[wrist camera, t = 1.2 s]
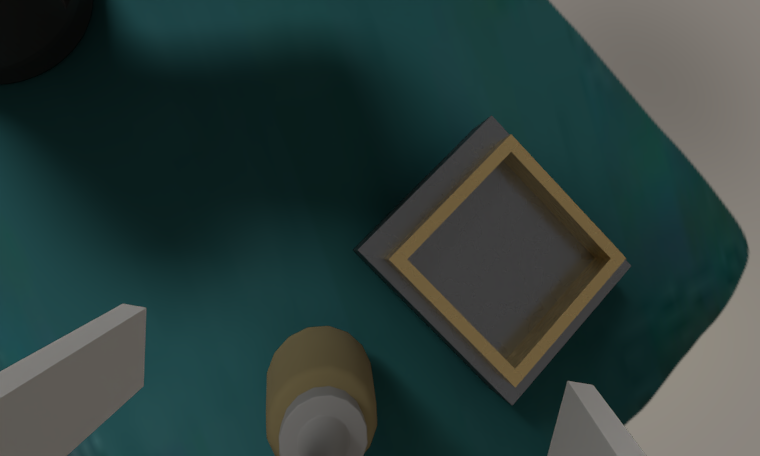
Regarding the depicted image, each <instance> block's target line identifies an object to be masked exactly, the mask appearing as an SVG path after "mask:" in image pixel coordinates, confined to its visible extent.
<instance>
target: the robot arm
mask: <svg viewBox="0 0 760 456" xmlns="http://www.w3.org/2000/svg"><path fill="white" fill-rule="evenodd" d="M92 5H93V0H0V84H7V83H13V82H18V81H22V80H26V79H29V78H32V77H34V76H37V75H39V74H41V73H43V72H45V71H47V70H49V69H50V68H52V67H54V66H55V65H57V64H58V63H59V62H61V61H62V60H63V59H64V58H65V57H66V56H67V55H68V54H69V53H70V52H71V51H72V50H73V49H74V48H75V47H76V45H77V44H78V42H79V41H80V39H81V38H82V36H83V34H84V32H85V30H86V28H87V26H88V23H89V20H90V16H91V12H92ZM145 331H146V308H145V307H139V306H133V305H128V304H121V305H120V306H118V307H116V308H114V309H112V310H110V311H109V312H107V313H105V314H103V315H101V316H100V317H98V318H96V319H94V320H92V321H91V322H89V323H87V324H85V325H83V326H82V327H80V328H78V329H76V330H74V331H73V332H71V333H69V334H67V335H65V336H64V337H62V338H60V339H58V340H56V341H55V342H53V343H51V344H49V345H47V346H46V347H44V348H42V349H40V350H38V351H37V352H35V353H33V354H31V355H29V356H28V357H26V358H24V359H22V360H20V361H18V362H17V363H15V364H13V365H11V366H9V367H8V368H6V369H4V370H2V371H0V456H67V455H68V454H69V453H70V452H71V451H72V450H74V449H75V448H76V447H77V446H78V445H79V444H80V443H81V442H82V441H83V440H85V439H86V438H87V437H88V436H89V435H90V434H91V433H92V432H93V431H95V430H96V429H97V428H98V427H99V426H100V425H101V424H102V423H103V422H104V421H106V420H107V419H108V418H109V417H110V416H111V415H112V414H113V413H114V412H115V411H117V410H118V409H119V408H120V407H121V406H122V405H123V404H124V403H125V402H127V401H128V400H129V399H130V398H131V397H132V396H133V395H134V394H135V393H136V392H138V391H139V390H140V389H141V388H142V387H143V386H144V360H145ZM547 456H646V455H645V453H644V452H643V450H642V449H641V448H640V447H639V445H638V444H637V442H636V441H635V440H634V439H633V437H632V436H631V434H630V433H629V432H628V431H627V429H626V428H625V427H624V425H623V424H622V423H621V421H620V420H619V419H618V417H617V416H616V415H615V413H614V412H613V411H612V409H611V408H610V407H609V405H608V404H607V403H606V401H605V400H604V399H603V397H602V396H601V395H600V393H599V392H598V391H597V389H596V388H595V387H594V385H590V384H584V383H578V382H573V381H567V384H566V388H565V392H564V396H563V399H562V403H561V407H560V410H559V414H558V418H557V422H556V425H555V429H554V433H553V437H552V440H551V444H550V448H549V452H548V455H547Z"/></svg>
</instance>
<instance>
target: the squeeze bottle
mask: <svg viewBox="0 0 760 456" xmlns="http://www.w3.org/2000/svg"><path fill="white" fill-rule="evenodd" d="M376 427H377V409H376V398H375V391H374V384H373V376H372V369H371V363H370V361H369V359H368V357H367V354H366V352H365V350H364V348H363V346H362V345H361V344H360V343H359V342H358V341H357V340H356V339H354V338H353V337H352V336H351V335H350V334H349V333H348V332H345V331H342V330H339V329H336V328H333V327H330V326H321V327H308V328H306V329H304V330H302V331H300V332H298V333H296V334H294V335H292V336H290V337H288V338H287V340H286V341H285V342H284V343H283V344H282V345H281V346H280V347H279V348H278V350H277V351H276V352H275V353H274V356H273V358H272V361H271V364H270V366H269V369H268V372H267V395H266V430H267V439H268V442H269V444H270V446H271V448H272V450H273V452H274V454H275V456H364V453H365V452H366V451H367V449H368V448H369V447H370V445H371V442H372V439H373V436H374V433H375V430H376Z"/></svg>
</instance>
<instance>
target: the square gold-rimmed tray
mask: <svg viewBox="0 0 760 456" xmlns="http://www.w3.org/2000/svg"><path fill="white" fill-rule="evenodd" d="M353 251H354V252H355V253H356V254H357V255H358V256H359V257H360V258H361V259H362V260H363V261H364V262H365V263H366V264H367V265H368V266H369V267H370V268H371V269H372V270H373V271H374V272H375V273H376V274H377V275H378V276H379V277H380V278H381V279H382V280H383V281H384V282H385V283H386V284H387V285H388V286H389V287H390V288H391V289H392V290H393V291H394V292H395V293H396V294H397V295H398V296H399V297H400V298H401V299H402V300H403V301H404V302H405V303H406V304H407V305H408V306H409V307H410V308H411V309H412V310H413V311H414V312H415V313H416V314H417V315H418V316H419V317H420V318H421V319H422V320H423V321H424V322H425V323H426V324H427V325H428V326H429V327H430V328H431V329H432V330H433V331H434V332H435V333H436V334H437V335H438V336H439V337H440V338H441V339H442V340H443V341H444V342H445V343H446V344H447V345H448V346H449V347H450V348H451V349H452V350H453V351H454V352H455V353H456V354H457V355H458V356H459V357H460V358H461V359H462V360H463V361H464V362H465V363H466V364H467V365H468V366H469V367H470V368H471V369H472V370H473V371H474V372H475V373H476V374H477V375H478V376H479V377H480V378H481V379H482V380H483V381H484V382H485V383H486V384H487V385H488V386H489V387H490V388H491V389H492V390H493V391H494V392H495V393H497V394H498V395H499V396H500V397H502V398H503V399H504V400H506V401H507V402H508V403H509V404H511V405H512V406H513V404H514V403H515V402H516V401H517V400H518V399H519V397H520V396H521V395H522V394H523V393H524V391H525V390H526V389H527V388H528V387H529V386H530V384H531V383H532V382H533V381H534V380H535V379H536V377H537V376H538V375H539V374H540V373H541V372H542V370H543V369H544V368H545V367H546V366H547V364H548V363H549V362H550V361H551V360H552V359H553V357H554V356H555V355H556V354H557V353H558V352H559V350H560V349H561V348H562V347H563V346H564V345H565V343H566V342H567V341H568V340H569V339H570V337H571V336H572V335H573V334H574V333H575V332H576V330H577V329H578V328H579V327H580V326H581V325H582V323H583V322H584V321H585V320H586V319H587V317H588V316H589V315H590V314H591V313H592V312H593V310H594V309H595V308H596V307H597V306H598V305H599V303H600V302H601V301H602V300H603V299H604V298H605V296H606V295H607V294H608V293H609V292H610V290H611V289H612V288H613V287H614V286H615V285H616V283H617V282H618V281H619V280H620V279H621V278H622V276H623V275H624V274H625V273H626V272H627V271H628V269H629V268H630V267H631V265H630V264H629V263H628V262H627V261H626V260H625V259H626V257H625V256H624V255H623V254H622V253H621V252H620V251H619V250H618V249H617V248H616V247H615V246H614V245H613V243H612V242H611V241H610V240H609V239H608V238H607V237H606V236H605V235H604V234H603V233H602V232H601V231H600V229H599V228H598V227H597V226H596V225H595V224H594V223H593V222H592V221H591V220H590V219H589V218H588V217H587V215H586V214H585V213H584V212H583V211H582V210H581V209H580V208H579V207H578V206H577V205H576V204H575V203H574V201H573V200H572V199H571V198H570V197H569V196H568V195H567V194H566V193H565V192H564V191H563V190H562V189H561V187H560V186H559V185H558V184H557V183H556V182H555V181H554V180H553V179H552V178H551V177H550V176H549V175H548V173H547V172H546V171H545V170H544V169H543V168H542V167H541V166H540V165H539V164H538V163H537V162H536V161H535V159H534V158H533V157H532V156H531V155H530V154H529V153H528V152H527V151H526V150H525V149H524V148H523V147H522V145H521V144H520V143H519V142H518V141H517V140H516V139H515V138H514V137H513V136H512V135H511V134H510V135H509V134H508V133H507V131H506V130H505V129H504V128H503V127H502V126H501V125H500V124H499V123H498V122H497V121H496V120H495V119H494V117H493V116H492V115H491V116H490V117H489V118H487V119H486V120H485V121H483V122H482V123H481V124H479V125H478V126H477V127H475V128H474V129H473V130H472V131H471V132H470V133H469V134H468V135H467V136H466V137H465V138H464V139H463V140H462V141H461V142H460V143H459V144H458V145H457V146H456V147H455V148H454V149H453V150H452V151H451V152H450V153H449V154H448V155H447V156H446V157H445V158H444V159H443V160H442V161H441V162H440V163H439V164H438V165H437V166H436V167H435V168H434V169H433V170H432V171H431V172H430V173H429V174H428V175H427V176H426V177H425V178H424V179H423V180H422V181H421V182H420V183H419V184H418V185H417V186H416V187H415V188H414V189H413V190H412V191H411V192H410V193H409V194H408V195H407V196H406V197H405V198H404V199H403V200H402V201H401V202H400V203H399V204H398V205H397V206H396V207H395V208H394V209H393V210H392V211H391V212H390V213H389V214H388V215H387V216H386V217H385V218H384V219H383V220H382V221H381V222H380V223H379V224H378V225H377V226H376V227H375V228H374V229H373V230H372V231H371V232H370V233H369V234H368V235H367V236H366V237H365V238H364V239H363V240H362V241H361V242H360V243H359V244H358V245H357V246H356V247H355V248H354V249H353Z"/></svg>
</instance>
